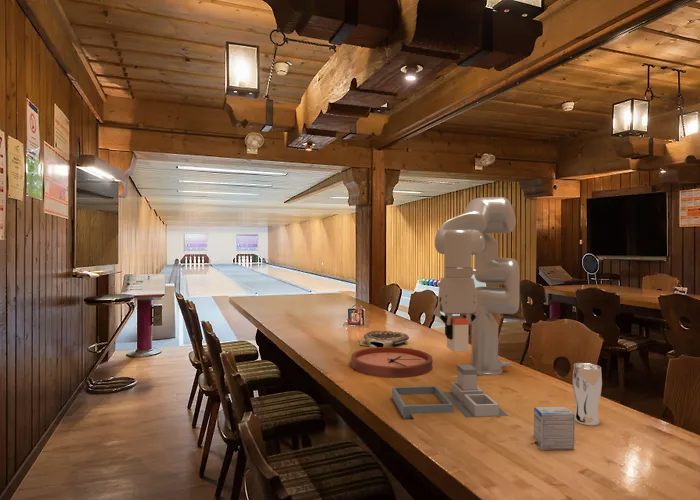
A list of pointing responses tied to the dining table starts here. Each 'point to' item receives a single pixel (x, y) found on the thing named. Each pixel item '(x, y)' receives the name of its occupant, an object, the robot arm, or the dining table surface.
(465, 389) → the block
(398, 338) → the pie
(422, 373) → the clock
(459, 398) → the board
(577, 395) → the beer glass
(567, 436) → the medicine box
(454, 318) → the block
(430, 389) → the grey open square frame
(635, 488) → the dining table surface
